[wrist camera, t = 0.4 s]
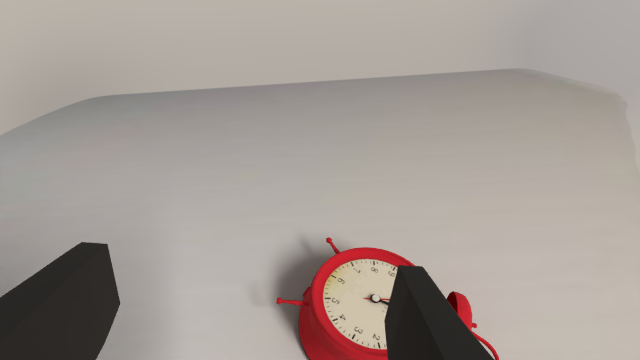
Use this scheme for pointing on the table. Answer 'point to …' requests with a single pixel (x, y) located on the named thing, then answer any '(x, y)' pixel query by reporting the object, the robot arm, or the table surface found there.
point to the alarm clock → (356, 306)
